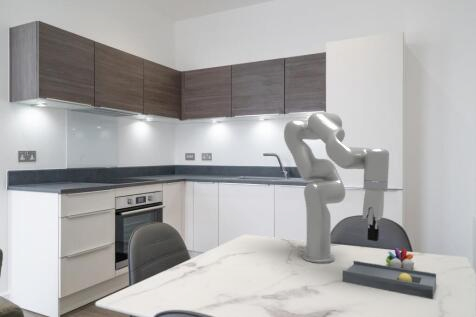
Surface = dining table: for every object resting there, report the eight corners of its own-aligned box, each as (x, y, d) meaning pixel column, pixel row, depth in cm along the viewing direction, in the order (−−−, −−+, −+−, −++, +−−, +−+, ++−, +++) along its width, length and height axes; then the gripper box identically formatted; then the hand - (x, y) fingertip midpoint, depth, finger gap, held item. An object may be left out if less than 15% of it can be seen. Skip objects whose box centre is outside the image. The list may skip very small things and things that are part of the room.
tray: (342, 281, 114) (342, 270, 114) (354, 270, 126) (354, 260, 126) (432, 298, 100) (432, 286, 100) (436, 284, 111) (436, 273, 112)
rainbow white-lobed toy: (417, 272, 125) (417, 251, 125) (388, 270, 126) (388, 250, 126) (410, 265, 133) (410, 246, 133) (383, 263, 135) (383, 244, 135)
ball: (400, 289, 109) (395, 276, 110) (402, 285, 112) (397, 273, 113) (413, 286, 107) (407, 273, 108) (414, 282, 110) (409, 270, 111)
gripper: (368, 183, 124) (366, 233, 124) (358, 186, 111) (355, 243, 112) (391, 184, 120) (388, 237, 120) (382, 189, 107) (380, 247, 108)
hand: (372, 239), depth 116 cm, fingers closed
